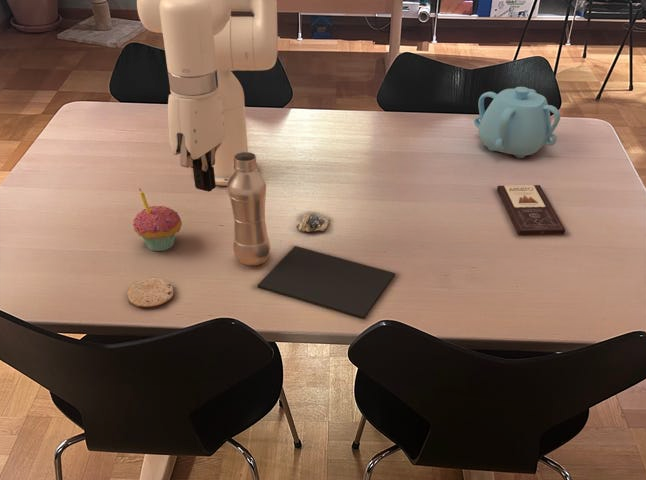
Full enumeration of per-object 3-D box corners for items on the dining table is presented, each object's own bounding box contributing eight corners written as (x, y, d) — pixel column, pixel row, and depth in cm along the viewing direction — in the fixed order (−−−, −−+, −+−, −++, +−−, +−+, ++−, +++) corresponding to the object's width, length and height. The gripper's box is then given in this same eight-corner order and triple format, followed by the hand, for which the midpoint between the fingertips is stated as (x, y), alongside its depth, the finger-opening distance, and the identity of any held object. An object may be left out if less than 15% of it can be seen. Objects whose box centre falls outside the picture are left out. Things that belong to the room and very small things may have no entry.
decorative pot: (486, 164, 161) (496, 104, 152) (468, 133, 173) (476, 76, 164) (556, 161, 162) (570, 102, 153) (534, 131, 174) (546, 74, 165)
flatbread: (174, 306, 119) (173, 301, 119) (128, 311, 118) (126, 306, 118) (172, 278, 125) (171, 273, 125) (128, 283, 124) (127, 278, 124)
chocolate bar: (519, 230, 137) (497, 185, 151) (518, 235, 138) (497, 189, 151) (565, 229, 138) (539, 185, 151) (564, 234, 138) (538, 189, 152)
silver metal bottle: (265, 272, 128) (259, 167, 114) (229, 267, 129) (218, 163, 115) (275, 252, 132) (270, 150, 119) (240, 248, 133) (231, 146, 120)
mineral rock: (298, 236, 137) (297, 227, 135) (291, 215, 143) (291, 207, 141) (332, 233, 138) (333, 224, 136) (325, 212, 144) (325, 204, 142)
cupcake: (144, 261, 130) (133, 201, 122) (131, 238, 135) (120, 180, 127) (190, 249, 133) (182, 190, 125) (175, 228, 138) (167, 170, 130)
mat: (257, 287, 124) (257, 285, 124) (295, 247, 134) (295, 245, 133) (363, 319, 118) (363, 316, 118) (395, 275, 127) (395, 272, 127)
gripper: (199, 63, 119) (210, 166, 131) (144, 92, 109) (162, 202, 121) (238, 70, 117) (246, 175, 129) (186, 101, 106) (199, 212, 118)
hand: (205, 188), depth 124 cm, fingers closed
